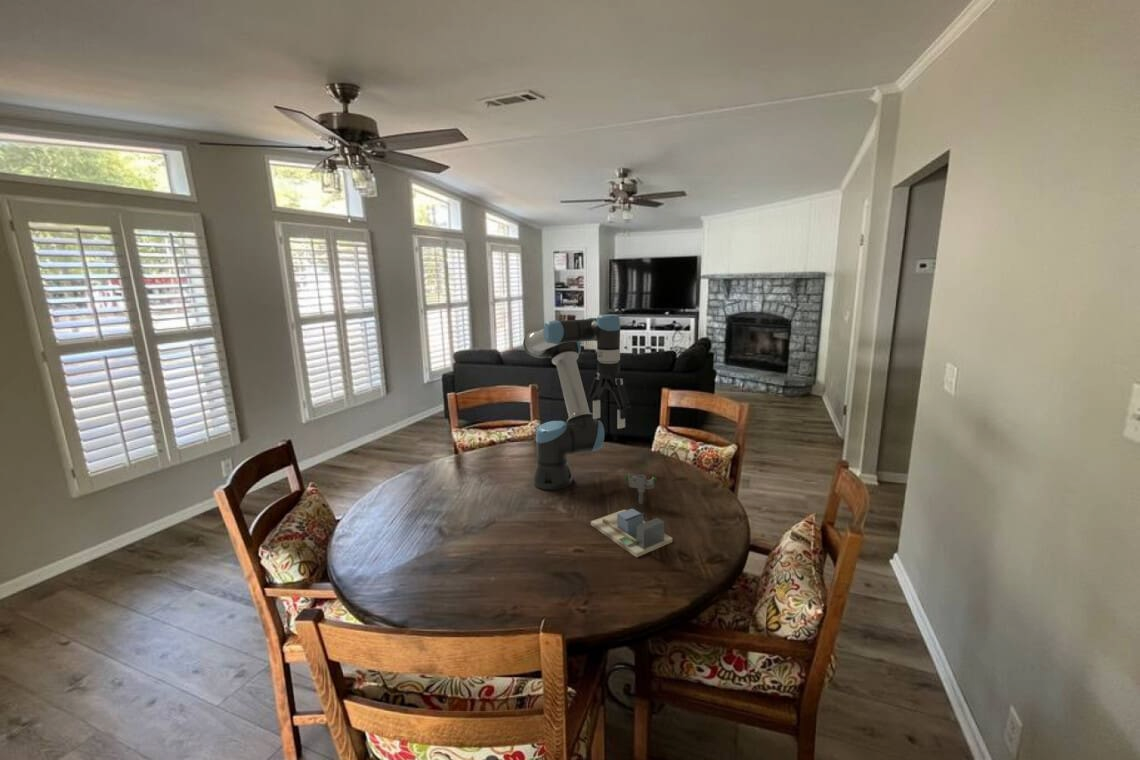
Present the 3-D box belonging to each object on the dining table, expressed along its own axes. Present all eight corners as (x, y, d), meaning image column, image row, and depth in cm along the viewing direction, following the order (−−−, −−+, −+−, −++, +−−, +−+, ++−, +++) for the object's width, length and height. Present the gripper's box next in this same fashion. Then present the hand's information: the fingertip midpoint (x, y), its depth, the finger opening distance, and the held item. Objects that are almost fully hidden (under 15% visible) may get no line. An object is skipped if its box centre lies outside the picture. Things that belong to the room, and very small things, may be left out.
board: (590, 524, 150) (590, 518, 149) (624, 512, 157) (624, 506, 157) (636, 557, 132) (636, 550, 131) (672, 541, 139) (672, 535, 139)
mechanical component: (655, 506, 161) (656, 479, 159) (625, 503, 163) (625, 477, 161) (655, 502, 164) (656, 475, 162) (626, 500, 166) (626, 473, 164)
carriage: (615, 529, 144) (615, 513, 143) (633, 522, 148) (633, 506, 147) (626, 536, 140) (626, 520, 139) (644, 529, 144) (644, 513, 143)
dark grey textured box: (636, 544, 136) (636, 525, 135) (656, 536, 140) (657, 517, 139) (643, 549, 134) (643, 530, 132) (663, 540, 138) (664, 521, 137)
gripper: (578, 357, 164) (578, 416, 168) (623, 368, 143) (623, 434, 148) (595, 355, 168) (595, 412, 172) (642, 365, 147) (641, 429, 152)
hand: (608, 422), depth 160 cm, fingers open, 13 cm apart
